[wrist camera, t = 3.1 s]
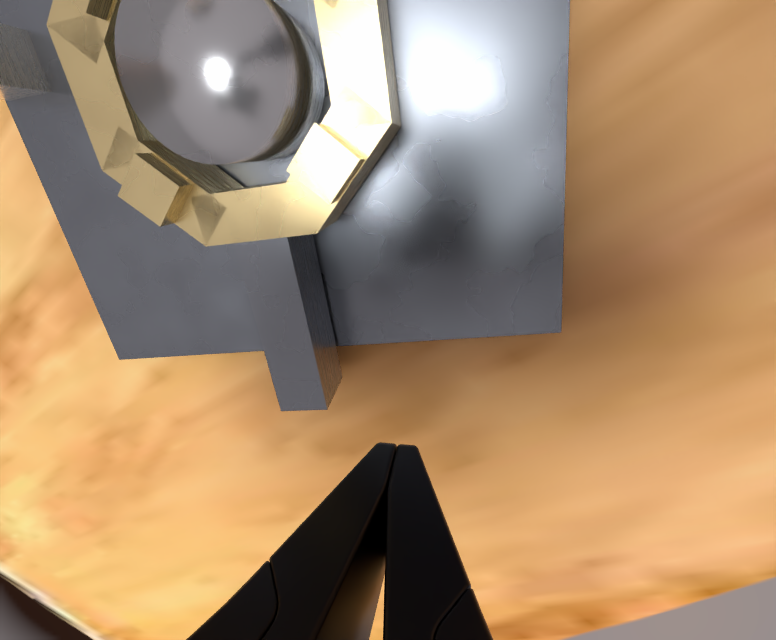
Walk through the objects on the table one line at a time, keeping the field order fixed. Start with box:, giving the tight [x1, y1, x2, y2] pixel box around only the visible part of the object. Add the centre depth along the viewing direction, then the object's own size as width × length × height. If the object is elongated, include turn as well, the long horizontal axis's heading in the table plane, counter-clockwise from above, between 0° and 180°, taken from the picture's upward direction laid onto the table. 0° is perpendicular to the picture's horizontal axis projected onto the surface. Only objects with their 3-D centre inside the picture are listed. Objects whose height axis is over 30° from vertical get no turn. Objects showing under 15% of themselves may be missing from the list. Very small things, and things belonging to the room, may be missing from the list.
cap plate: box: [0, 0, 570, 360], centre depth 13 cm, size 21×21×5 cm
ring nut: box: [47, 0, 401, 411], centre depth 14 cm, size 17×10×3 cm, turn 8°
